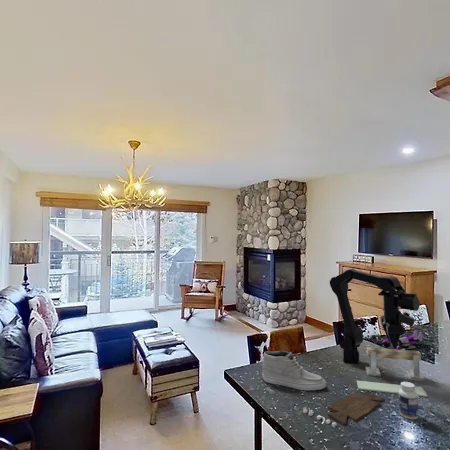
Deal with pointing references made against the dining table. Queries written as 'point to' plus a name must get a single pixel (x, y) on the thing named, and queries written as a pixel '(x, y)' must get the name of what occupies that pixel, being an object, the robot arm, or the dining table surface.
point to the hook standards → (412, 374)
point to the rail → (394, 353)
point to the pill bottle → (408, 401)
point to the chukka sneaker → (289, 372)
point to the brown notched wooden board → (354, 407)
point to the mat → (386, 388)
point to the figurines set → (319, 417)
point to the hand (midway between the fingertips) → (392, 344)
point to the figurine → (401, 341)
